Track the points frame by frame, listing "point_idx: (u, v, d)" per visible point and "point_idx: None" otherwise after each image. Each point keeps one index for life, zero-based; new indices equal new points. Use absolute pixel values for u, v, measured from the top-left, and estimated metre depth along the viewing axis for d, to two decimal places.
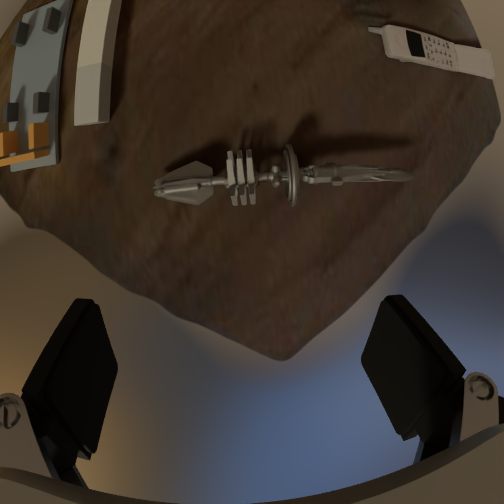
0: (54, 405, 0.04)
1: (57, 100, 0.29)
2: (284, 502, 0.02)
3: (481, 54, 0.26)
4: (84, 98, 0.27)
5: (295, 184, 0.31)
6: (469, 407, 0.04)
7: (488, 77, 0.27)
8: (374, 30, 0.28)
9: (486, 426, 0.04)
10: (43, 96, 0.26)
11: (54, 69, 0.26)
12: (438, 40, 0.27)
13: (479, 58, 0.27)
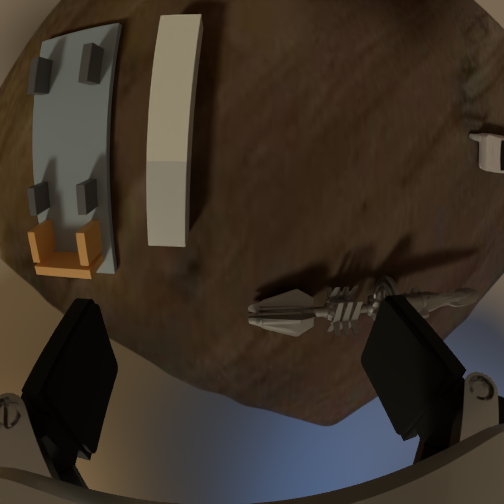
0: (54, 405, 0.04)
1: (109, 190, 0.27)
2: (284, 502, 0.02)
3: None
4: (163, 212, 0.25)
5: None
6: (469, 407, 0.04)
7: None
8: (475, 138, 0.27)
9: (486, 426, 0.04)
10: (90, 188, 0.24)
11: (100, 143, 0.24)
12: None
13: None
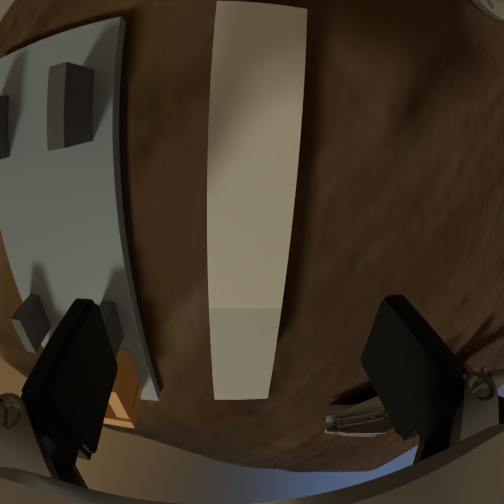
0: (54, 405, 0.04)
1: (138, 313, 0.18)
2: (284, 502, 0.02)
3: None
4: (238, 369, 0.16)
5: None
6: (469, 407, 0.04)
7: None
8: None
9: (486, 426, 0.04)
10: (109, 326, 0.15)
11: (112, 250, 0.15)
12: None
13: None
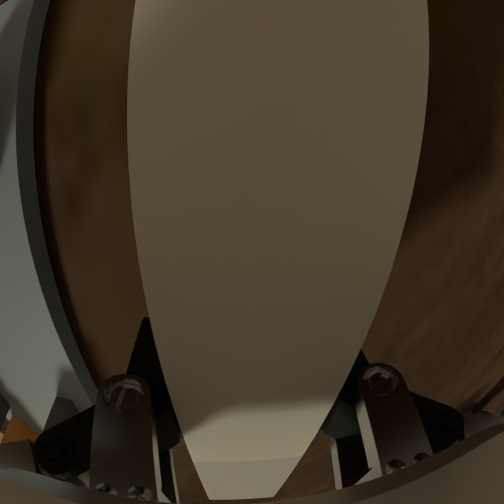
0: None
1: None
2: (284, 502, 0.02)
3: None
4: (238, 488, 0.10)
5: None
6: (375, 410, 0.05)
7: None
8: None
9: (373, 425, 0.04)
10: None
11: (52, 347, 0.09)
12: None
13: None
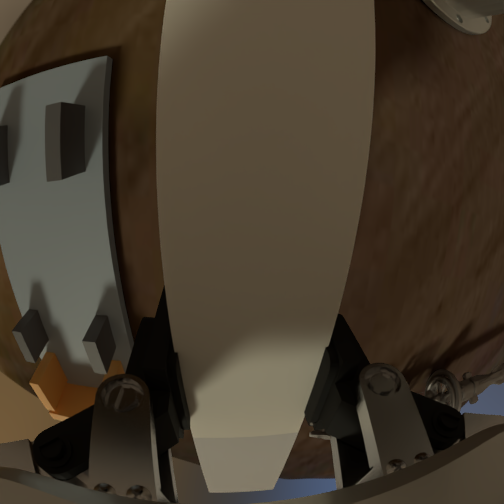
0: (177, 378, 0.06)
1: (128, 326, 0.19)
2: (284, 502, 0.02)
3: None
4: (237, 476, 0.10)
5: None
6: (376, 410, 0.05)
7: None
8: None
9: (375, 424, 0.04)
10: (103, 337, 0.17)
11: (104, 269, 0.17)
12: None
13: None
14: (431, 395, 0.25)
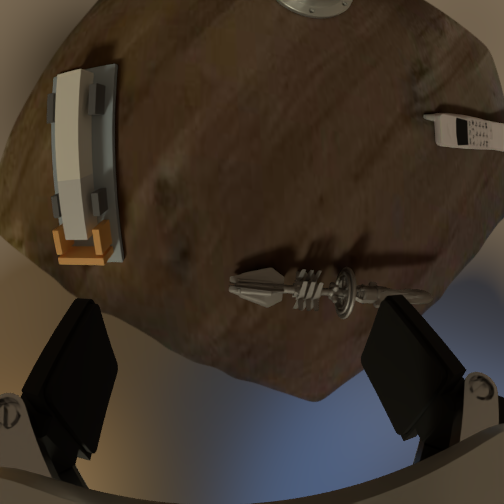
0: (54, 405, 0.04)
1: (116, 196, 0.35)
2: (284, 502, 0.02)
3: None
4: (71, 215, 0.31)
5: (351, 309, 0.38)
6: (469, 407, 0.04)
7: None
8: (429, 118, 0.34)
9: (486, 426, 0.04)
10: (102, 195, 0.32)
11: (108, 160, 0.32)
12: (479, 122, 0.33)
13: None
14: (334, 286, 0.41)
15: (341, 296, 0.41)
